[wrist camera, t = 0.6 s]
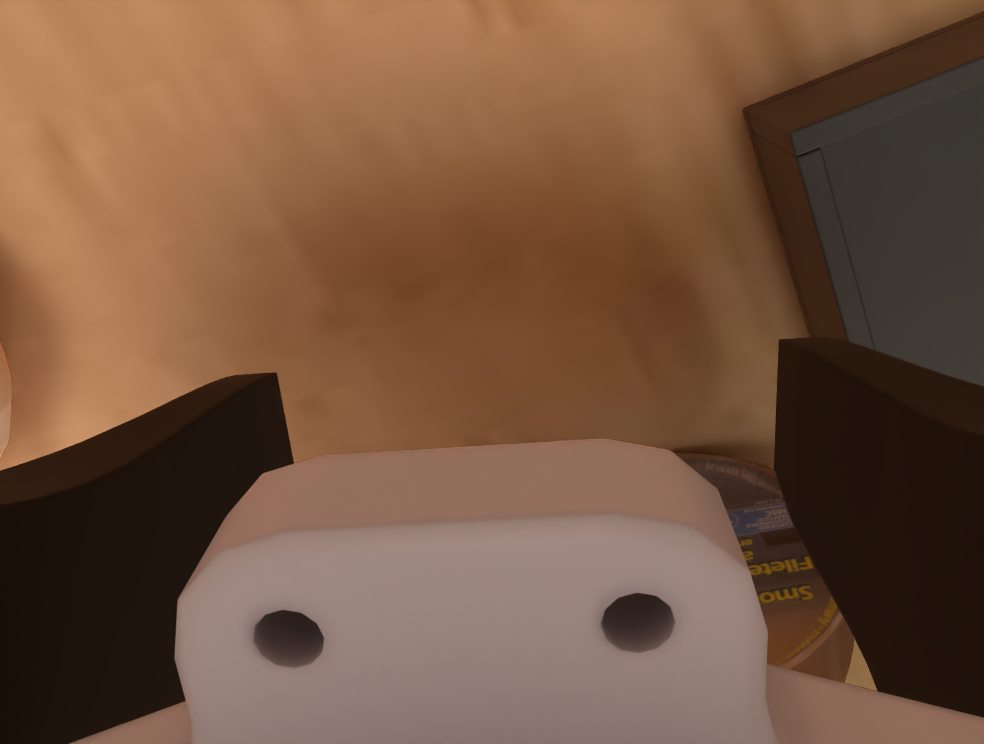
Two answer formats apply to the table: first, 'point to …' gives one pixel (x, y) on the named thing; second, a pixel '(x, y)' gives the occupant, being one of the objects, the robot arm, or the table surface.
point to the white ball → (4, 401)
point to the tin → (780, 570)
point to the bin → (886, 198)
